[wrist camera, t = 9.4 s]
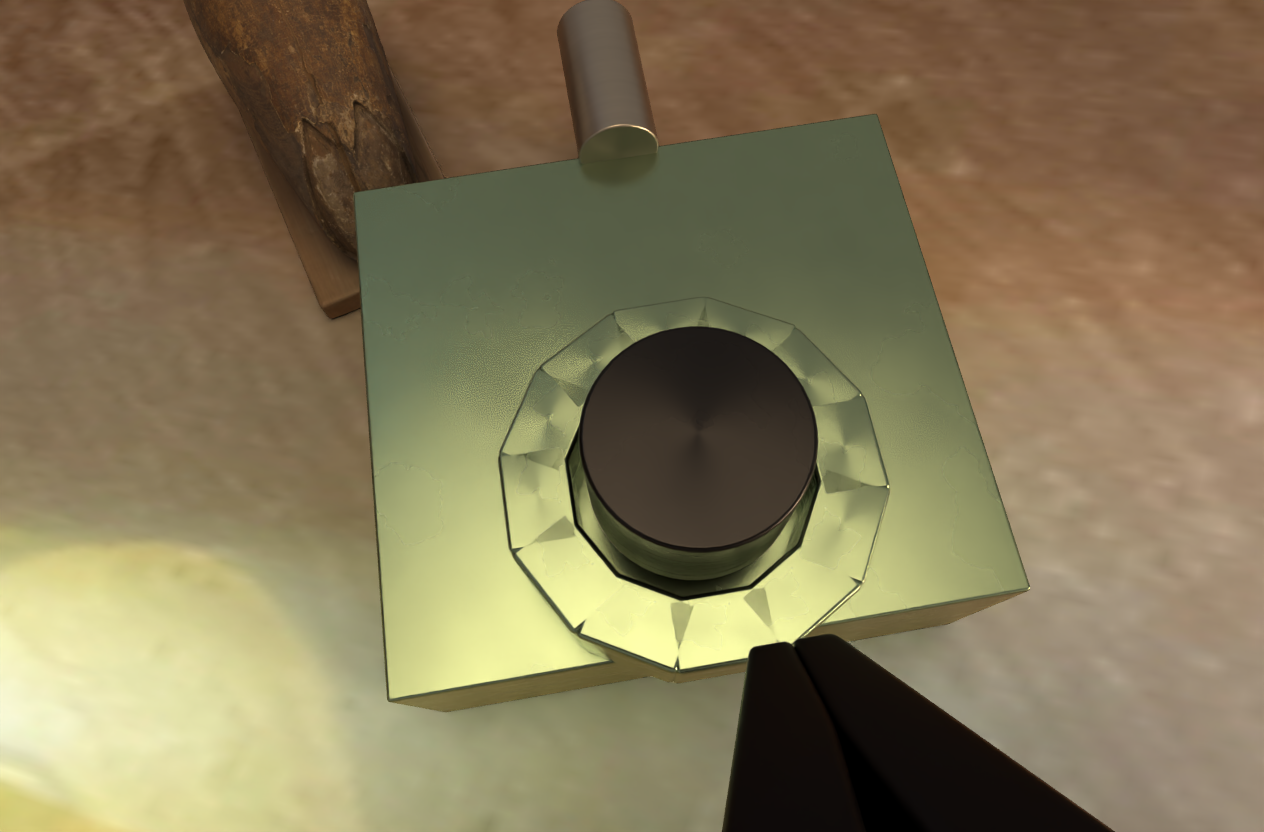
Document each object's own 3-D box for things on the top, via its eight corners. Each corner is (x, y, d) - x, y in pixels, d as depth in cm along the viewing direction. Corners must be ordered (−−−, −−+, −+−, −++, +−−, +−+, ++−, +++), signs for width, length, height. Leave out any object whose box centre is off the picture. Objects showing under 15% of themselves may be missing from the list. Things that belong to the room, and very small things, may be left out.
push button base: (957, 647, 21) (1098, 600, 14) (445, 737, 20) (349, 732, 14) (835, 227, 25) (903, 40, 18) (406, 294, 24) (317, 126, 18)
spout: (658, 171, 21) (659, 120, 19) (581, 182, 21) (576, 132, 19) (632, 50, 22) (631, -8, 20) (560, 60, 22) (552, 3, 20)
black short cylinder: (816, 561, 15) (846, 529, 13) (604, 597, 15) (597, 571, 13) (769, 367, 16) (788, 308, 14) (574, 399, 16) (562, 343, 14)
